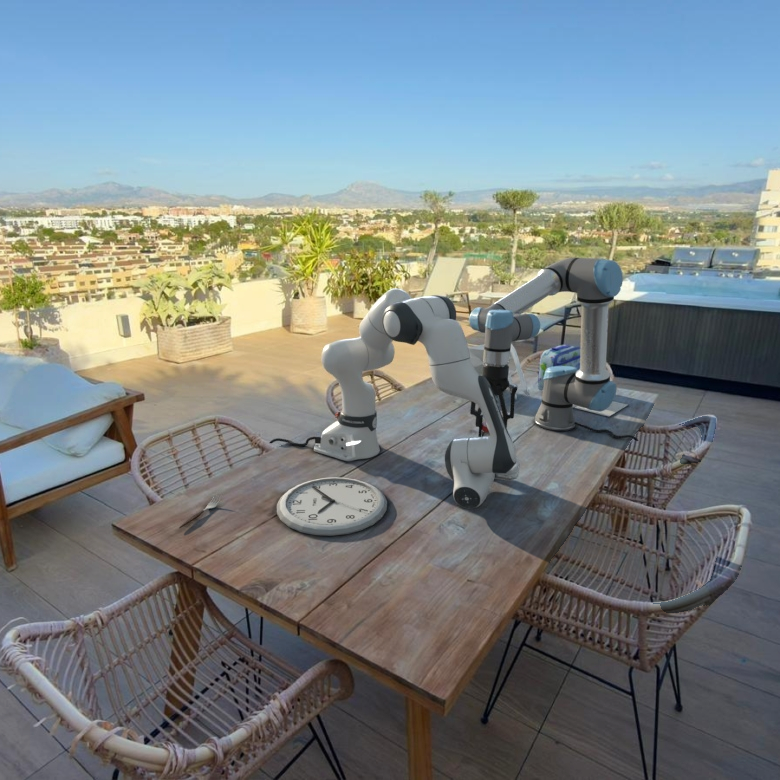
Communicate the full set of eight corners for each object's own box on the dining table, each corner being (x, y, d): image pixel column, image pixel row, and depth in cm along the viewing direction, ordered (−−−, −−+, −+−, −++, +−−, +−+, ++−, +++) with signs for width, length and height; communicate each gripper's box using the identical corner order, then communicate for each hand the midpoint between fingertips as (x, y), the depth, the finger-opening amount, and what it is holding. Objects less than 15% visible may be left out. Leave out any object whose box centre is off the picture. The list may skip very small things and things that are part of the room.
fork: (174, 529, 130) (174, 521, 130) (216, 499, 144) (215, 492, 144) (183, 531, 129) (182, 524, 129) (223, 501, 144) (223, 494, 143)
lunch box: (554, 397, 237) (559, 352, 231) (533, 392, 244) (538, 348, 238) (581, 386, 255) (586, 344, 248) (560, 381, 262) (565, 340, 256)
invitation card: (608, 416, 214) (573, 407, 224) (608, 416, 214) (573, 408, 224) (628, 404, 229) (594, 396, 238) (628, 405, 229) (594, 397, 238)
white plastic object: (461, 429, 252) (437, 405, 227) (444, 352, 274) (420, 323, 250) (535, 404, 240) (518, 377, 215) (510, 326, 262) (492, 293, 237)
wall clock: (392, 527, 129) (268, 531, 127) (391, 533, 130) (269, 537, 127) (383, 473, 158) (282, 475, 155) (383, 478, 158) (282, 480, 156)
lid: (484, 425, 162) (484, 419, 161) (502, 428, 160) (502, 423, 159) (478, 431, 157) (479, 425, 157) (497, 434, 155) (497, 429, 154)
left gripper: (517, 469, 145) (524, 451, 157) (446, 457, 152) (457, 440, 164) (515, 490, 147) (522, 470, 159) (445, 477, 154) (456, 458, 166)
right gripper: (528, 363, 153) (521, 436, 160) (465, 358, 158) (461, 430, 165) (528, 369, 147) (521, 445, 153) (462, 364, 151) (458, 438, 158)
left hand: (489, 454), depth 162 cm, fingers closed on jar, 5 cm apart
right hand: (490, 437), depth 159 cm, fingers closed on lid, 5 cm apart
